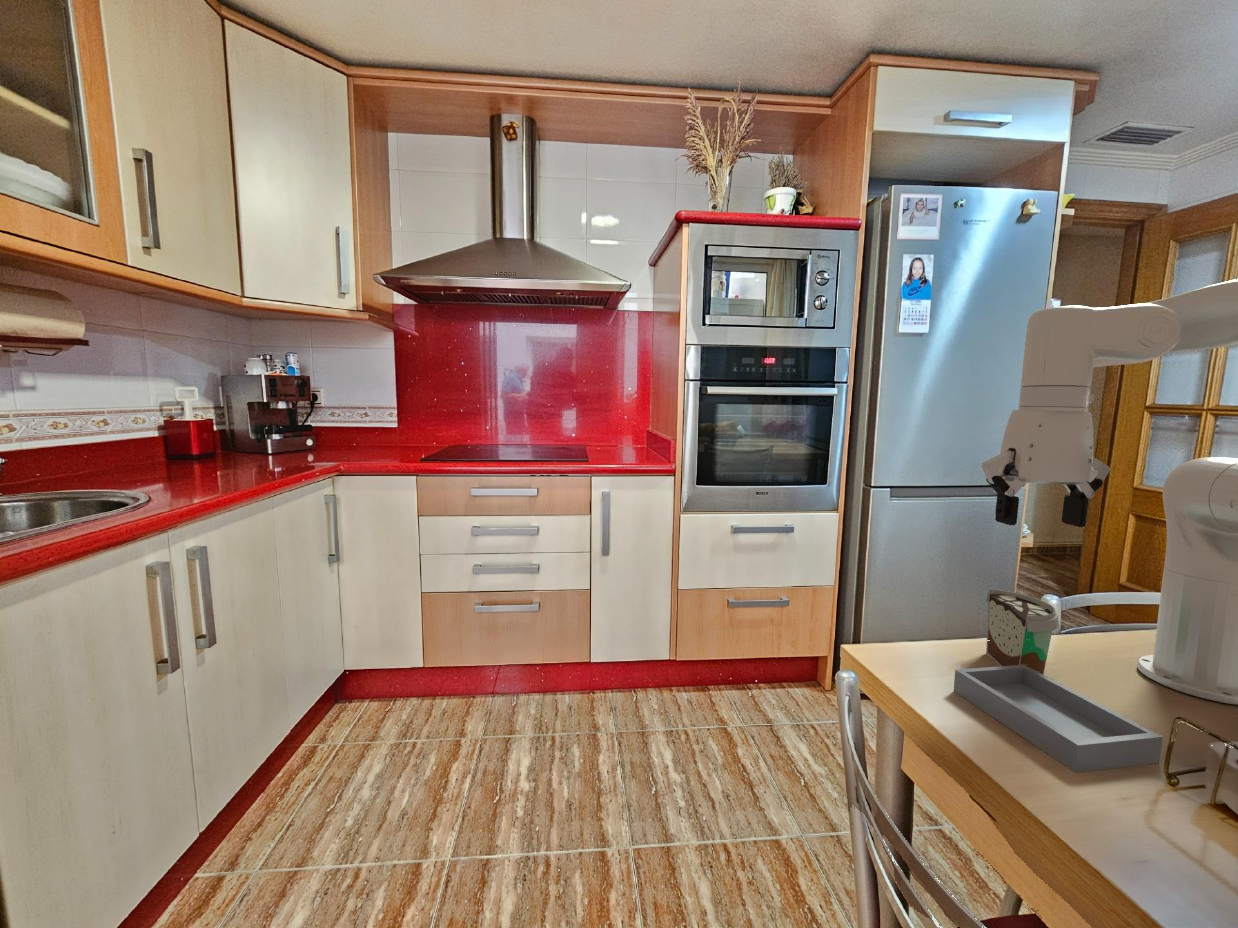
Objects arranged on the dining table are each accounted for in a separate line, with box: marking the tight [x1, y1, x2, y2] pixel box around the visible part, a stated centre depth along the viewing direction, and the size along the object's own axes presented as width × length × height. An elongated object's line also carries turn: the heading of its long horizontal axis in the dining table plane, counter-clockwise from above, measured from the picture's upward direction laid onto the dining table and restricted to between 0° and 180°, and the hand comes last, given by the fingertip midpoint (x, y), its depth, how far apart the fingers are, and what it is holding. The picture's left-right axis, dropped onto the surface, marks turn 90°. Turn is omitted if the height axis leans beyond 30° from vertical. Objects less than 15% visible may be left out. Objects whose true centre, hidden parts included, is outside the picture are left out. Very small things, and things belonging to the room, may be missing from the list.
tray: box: [953, 665, 1163, 773], centre depth 66 cm, size 11×17×3 cm, turn 9°
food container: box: [985, 588, 1060, 675], centre depth 79 cm, size 12×6×10 cm, turn 168°
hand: (1039, 524), depth 76 cm, fingers open, 9 cm apart
